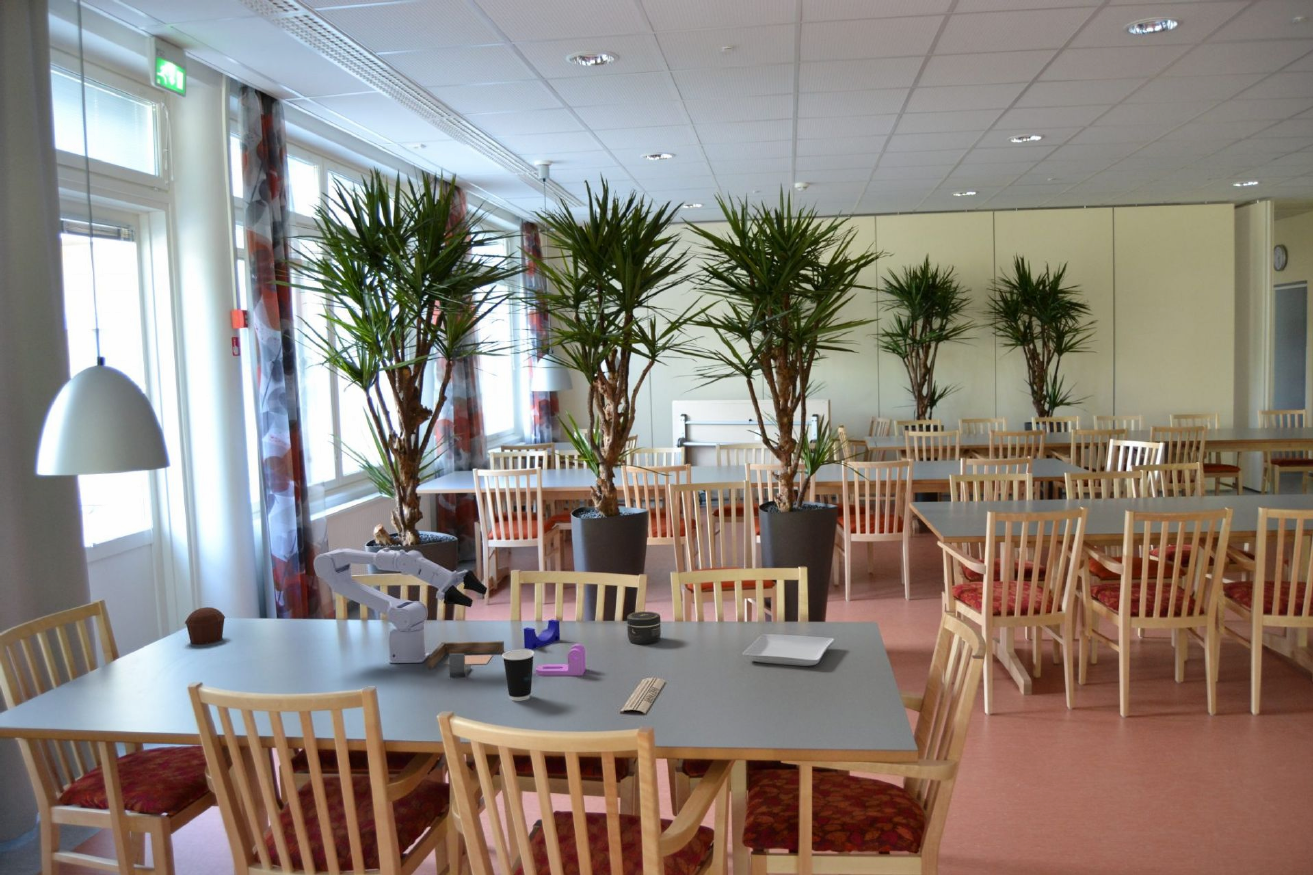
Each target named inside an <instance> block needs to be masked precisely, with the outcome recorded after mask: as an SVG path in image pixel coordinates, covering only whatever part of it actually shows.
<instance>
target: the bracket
mask: <svg viewBox="0 0 1313 875" xmlns="http://www.w3.org/2000/svg"><path fill="white" fill-rule="evenodd" d="M586 669H587V668H586V649H585V647H584V646H583V645H582V644H580V643H576V644H573V645H572V647H571V648H570V651H569V652H568V654H567V664H566V663H565V664H563V663H561V664H559V663H558V664H557V663H556V664H553V663H552V664H551V663H550V664H540V665H537V666H536V667H535V675H537V676H542V677H543V676H545V677H547V676H550V677H551V676H554V677H555V676H583V675H584V674H585V673H584V672H585V670H586Z"/></svg>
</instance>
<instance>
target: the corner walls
mask: <svg viewBox="0 0 1313 875" xmlns="http://www.w3.org/2000/svg"><path fill="white" fill-rule="evenodd" d="M455 653H465V654H501V653H502V654H503V653H505V642H504V640H502V641H501V640H500V641H499V640H498V641H497V640H495V641H447V642H446V641H445V642H443V641H442V642H440V644H439V645H438V646H437V647H436V648H435V649H434V651H433V652H432V653H430V655H429V656H428V657H427V669H433V668H434V667H435V666H436V665H437V664H438V663H439V662H440V661H441V659H442V658H443V657H444V656H445V655H449V654H455Z"/></svg>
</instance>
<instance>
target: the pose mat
mask: <svg viewBox="0 0 1313 875" xmlns="http://www.w3.org/2000/svg"><path fill="white" fill-rule="evenodd" d="M492 657H493V654H482V655H478V654H477V655H465V665H469V664H471V666H472V665H488V663H489V662H490V660H491V659H492ZM446 666H449V662H447V664H446Z"/></svg>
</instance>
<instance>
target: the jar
mask: <svg viewBox="0 0 1313 875" xmlns="http://www.w3.org/2000/svg"><path fill="white" fill-rule="evenodd" d="M661 623H662V620H661V615H660V613H657V612H654V611H635V612H632V613H629V614H628V615H627V616H626V628H627V638H628V640H629V642H630V643H631V644H634V645H642V646H643V645H645V646H646V645H652V644H656V643H658V642H659V641H660V639H661V634H662V631H661V630H662V629H661V628H662V627H661Z"/></svg>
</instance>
